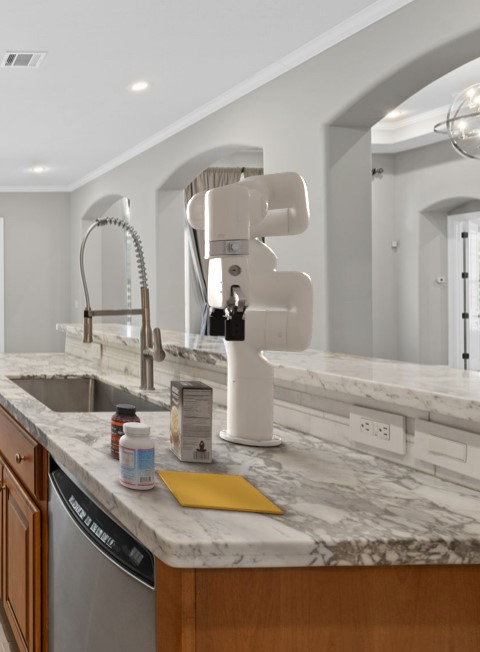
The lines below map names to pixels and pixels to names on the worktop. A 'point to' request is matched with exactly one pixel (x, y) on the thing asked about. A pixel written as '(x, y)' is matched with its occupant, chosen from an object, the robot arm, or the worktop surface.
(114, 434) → the supplement bottle
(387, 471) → the worktop surface
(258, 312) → the robot arm
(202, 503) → the cloth
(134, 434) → the pill bottle
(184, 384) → the coffee box
